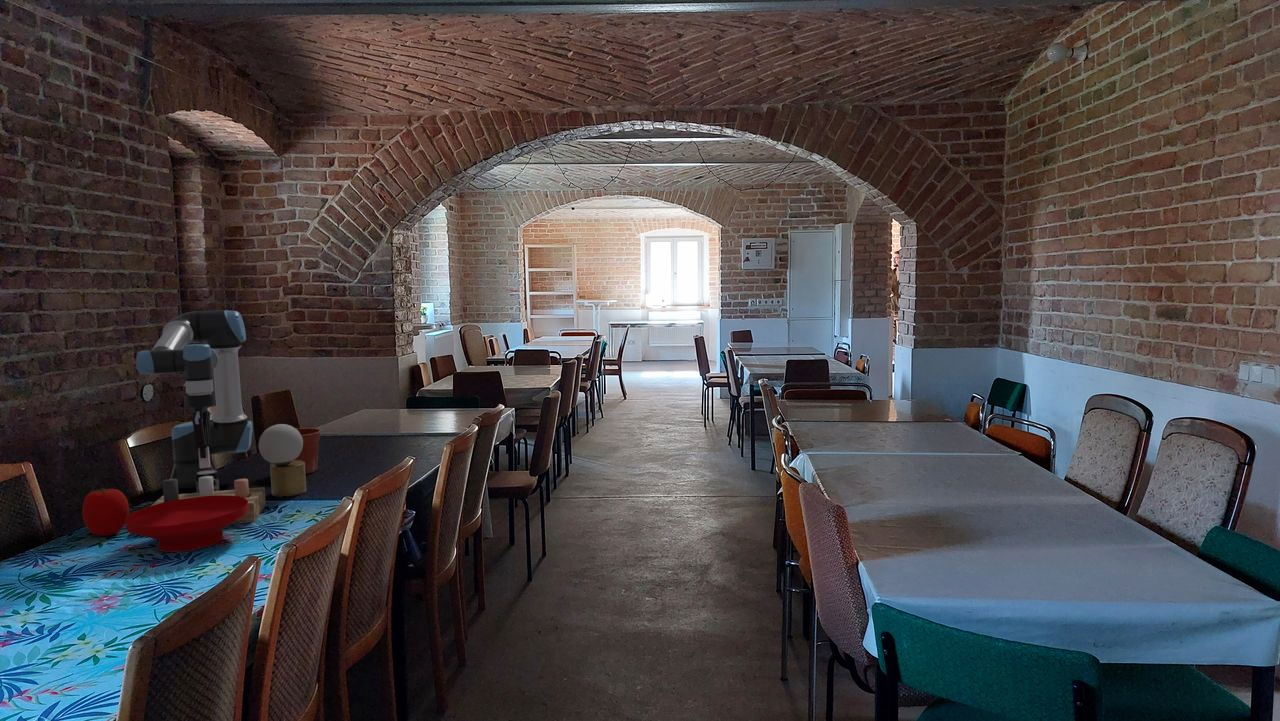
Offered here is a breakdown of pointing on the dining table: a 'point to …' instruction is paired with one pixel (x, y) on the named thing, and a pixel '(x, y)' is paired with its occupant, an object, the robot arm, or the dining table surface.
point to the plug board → (254, 500)
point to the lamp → (284, 459)
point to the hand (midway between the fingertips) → (204, 467)
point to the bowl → (187, 521)
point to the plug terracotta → (241, 488)
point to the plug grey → (206, 486)
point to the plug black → (170, 490)
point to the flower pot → (309, 448)
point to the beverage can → (208, 473)
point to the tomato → (105, 511)
